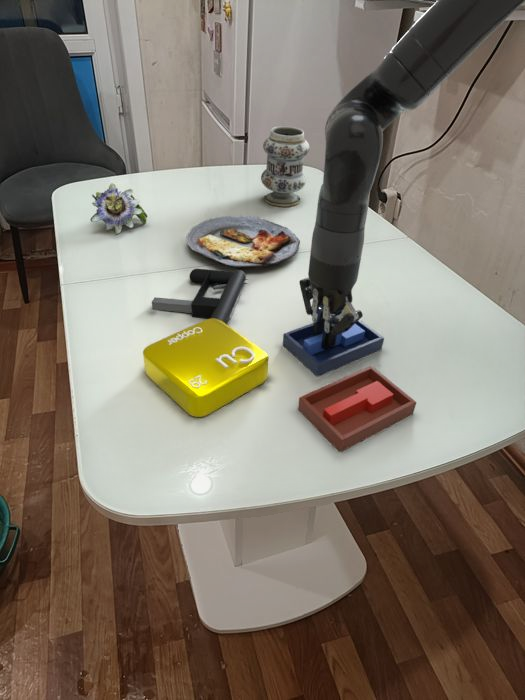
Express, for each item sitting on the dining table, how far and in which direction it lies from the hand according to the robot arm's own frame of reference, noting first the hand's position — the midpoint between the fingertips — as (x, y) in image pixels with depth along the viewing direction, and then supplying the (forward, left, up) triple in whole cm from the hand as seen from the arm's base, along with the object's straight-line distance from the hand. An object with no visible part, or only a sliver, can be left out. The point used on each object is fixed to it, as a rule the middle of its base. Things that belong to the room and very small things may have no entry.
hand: (323, 343), depth 86 cm
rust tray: (+5, +14, -2) cm, 15 cm away
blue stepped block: (-2, 0, -1) cm, 2 cm away
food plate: (-8, -39, -2) cm, 40 cm away
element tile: (+20, -5, -2) cm, 20 cm away
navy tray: (-2, 0, -2) cm, 3 cm away
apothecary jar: (-32, -58, -2) cm, 66 cm away
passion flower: (+12, -63, -2) cm, 64 cm away
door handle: (+11, -23, -2) cm, 26 cm away
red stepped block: (+5, +14, -1) cm, 15 cm away
